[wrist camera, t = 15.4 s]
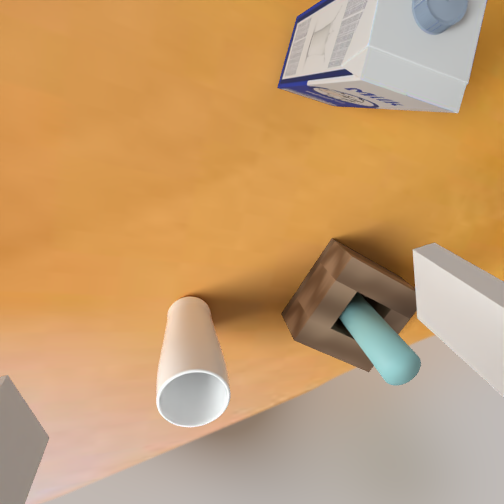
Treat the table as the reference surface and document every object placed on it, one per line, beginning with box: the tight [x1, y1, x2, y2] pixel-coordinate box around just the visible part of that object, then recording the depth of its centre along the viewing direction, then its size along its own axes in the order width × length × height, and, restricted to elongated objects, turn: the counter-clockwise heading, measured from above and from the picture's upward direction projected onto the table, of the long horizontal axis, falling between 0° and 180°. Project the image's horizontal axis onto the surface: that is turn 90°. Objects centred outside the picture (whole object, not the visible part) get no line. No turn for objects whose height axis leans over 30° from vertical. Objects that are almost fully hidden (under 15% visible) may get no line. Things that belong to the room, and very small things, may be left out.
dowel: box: [339, 292, 421, 385], centre depth 43 cm, size 4×4×14 cm
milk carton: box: [278, 0, 487, 113], centre depth 30 cm, size 7×7×20 cm
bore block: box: [282, 239, 417, 372], centre depth 48 cm, size 12×12×6 cm
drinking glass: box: [156, 296, 230, 427], centre depth 41 cm, size 7×7×15 cm
